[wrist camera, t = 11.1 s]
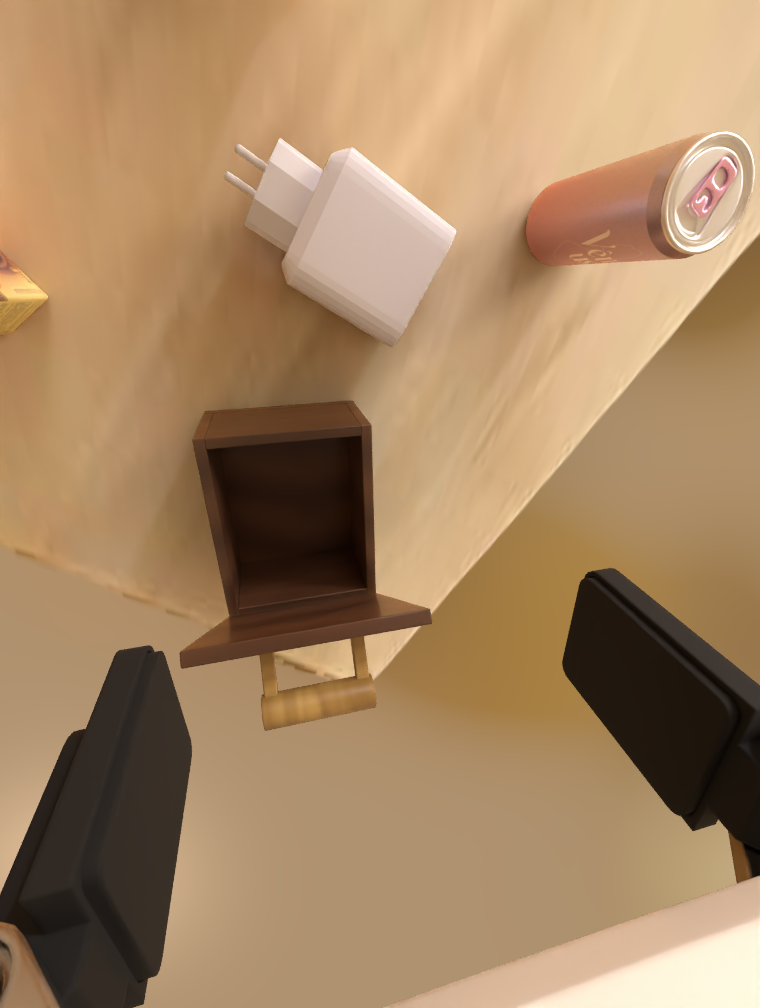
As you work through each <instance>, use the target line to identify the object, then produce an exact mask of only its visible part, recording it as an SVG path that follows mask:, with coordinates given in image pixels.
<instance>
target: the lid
mask: <svg viewBox="0 0 760 1008" xmlns="http://www.w3.org/2000/svg"><path fill="white" fill-rule="evenodd" d="M427 624H432V620H431V613H430V609H428V608H425V607H421V606H418V605H414V604H411V603H408V602H404V601H401V600H398V599H394V598H391V597H387V596H384V595H381V594H377V593H373V594H367V595H361V596H354V597H348V598H342V599H336V600H330V601H323V602H317V603H311V604H305V605H299V606H292V607H286V608H280V609H274V610H267V611H261V612H255V613H249V614H243V615H236V616H230V617H228V618H227V619H225V620H224V621H223V622H221V623H220V624H218V625H217V626H216V627H214V628H213V629H211V630H210V631H209V632H207V633H206V634H204V635H203V636H202V637H201V638H199V639H197V640H196V641H195V642H193V643H192V644H191V645H189V646H188V647H186V648H185V649H184V650H182V651H181V652H180V664H181V668H188V667H194V666H199V665H205V664H210V663H216V662H222V661H227V660H233V659H238V658H244V657H249V656H255V655H260V662H261V672H262V681H263V690H264V694H263V695H262V698H261V706H262V719H263V725H264V729H265V730H266V731H267V730H272V729H276V728H281V727H286V726H290V725H295V724H299V723H305V722H309V721H314V720H318V719H323V718H328V717H332V716H337V715H342V714H347V713H351V712H356V711H360V710H365V709H370V708H375V707H376V693H375V687H374V683H373V679H372V676H371V674H370V673H369V672H368V665H367V657H366V650H365V643H364V636H367V635H372V634H378V633H383V632H389V631H394V630H400V629H406V628H411V627H417V626H422V625H427ZM344 639H351V646H352V654H353V662H354V669H355V676H353V677H348V678H343V679H338V680H333V681H328V682H323V683H318V684H313V685H308V686H303V687H298V688H293V689H287V690H283V691H278V687H277V678H276V670H275V660H274V652H277V651H283V650H289V649H294V648H300V647H305V646H311V645H316V644H322V643H328V642H333V641H339V640H344Z"/></svg>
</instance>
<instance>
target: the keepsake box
mask: <svg viewBox="0 0 760 1008" xmlns="http://www.w3.org/2000/svg"><path fill="white" fill-rule="evenodd" d="M192 442H193V446H194V451H195V456H196V460H197V465H198V470H199V475H200V479H201V484H202V489H203V494H204V498H205V503H206V508H207V513H208V517H209V522H210V527H211V531H212V536H213V541H214V546H215V550H216V555H217V560H218V565H219V569H220V574H221V579H222V583H223V588H224V593H225V598H226V602H227V607H228V612H229V617H230V616H236V615H243V614H249V613H255V612H261V611H267V610H274V609H280V608H286V607H292V606H299V605H305V604H311V603H317V602H323V601H330V600H336V599H342V598H348V597H354V596H361V595H367V594H373V593H376V584H375V545H374V507H373V468H372V429H371V424H370V423H369V421H368V420H367V419H366V418H365V416H364V415H363V414H362V412H361V411H360V410H359V408H358V407H357V406H356V405H355V403H354V402H353V401H342V402H328V403H315V404H301V405H287V406H273V407H260V408H246V409H232V410H218V411H205V412H204V414H203V417H202V419H201V421H200V424H199V426H198V428H197V430H196V433H195V435H194V437H193V440H192Z"/></svg>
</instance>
